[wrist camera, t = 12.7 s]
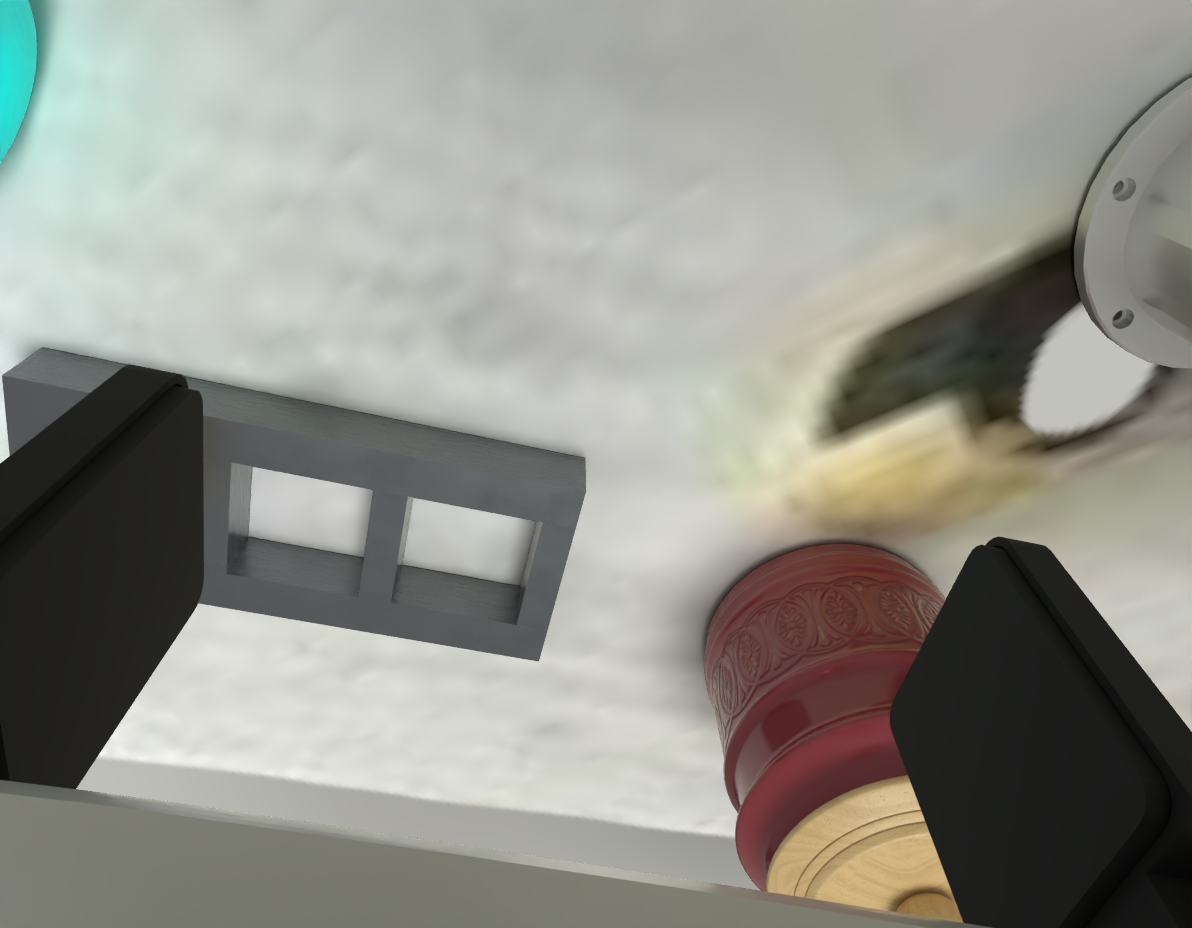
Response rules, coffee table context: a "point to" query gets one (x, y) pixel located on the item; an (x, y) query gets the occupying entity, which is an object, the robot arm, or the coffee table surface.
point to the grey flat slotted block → (396, 475)
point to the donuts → (15, 67)
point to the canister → (825, 727)
